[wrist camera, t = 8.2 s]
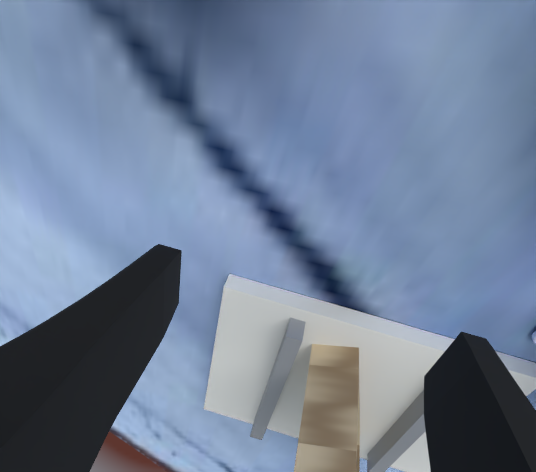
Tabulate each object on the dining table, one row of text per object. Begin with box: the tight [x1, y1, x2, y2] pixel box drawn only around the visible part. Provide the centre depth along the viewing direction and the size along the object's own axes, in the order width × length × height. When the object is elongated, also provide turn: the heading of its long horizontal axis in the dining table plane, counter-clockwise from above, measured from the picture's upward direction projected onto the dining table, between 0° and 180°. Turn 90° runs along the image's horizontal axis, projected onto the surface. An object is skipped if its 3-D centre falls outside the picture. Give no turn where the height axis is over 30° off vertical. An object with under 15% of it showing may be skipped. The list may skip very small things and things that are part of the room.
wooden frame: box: [294, 344, 360, 472], centre depth 25 cm, size 3×11×8 cm, turn 9°
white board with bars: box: [204, 274, 536, 472], centre depth 28 cm, size 20×16×3 cm
